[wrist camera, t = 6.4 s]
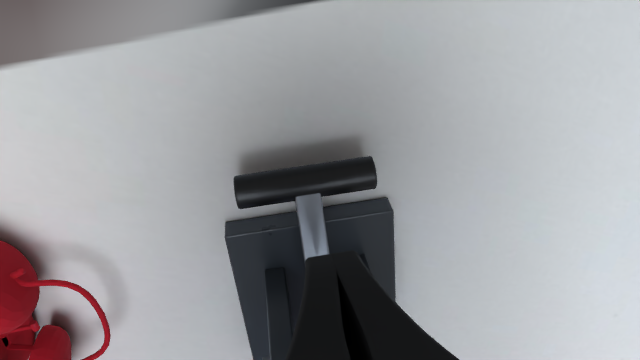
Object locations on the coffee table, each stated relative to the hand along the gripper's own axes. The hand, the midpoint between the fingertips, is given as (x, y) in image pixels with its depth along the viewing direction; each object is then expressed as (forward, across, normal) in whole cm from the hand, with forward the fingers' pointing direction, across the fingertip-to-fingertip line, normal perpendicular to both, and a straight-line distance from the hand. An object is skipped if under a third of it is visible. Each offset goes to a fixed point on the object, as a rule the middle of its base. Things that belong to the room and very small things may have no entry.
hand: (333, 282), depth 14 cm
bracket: (+10, 0, +9) cm, 14 cm away
